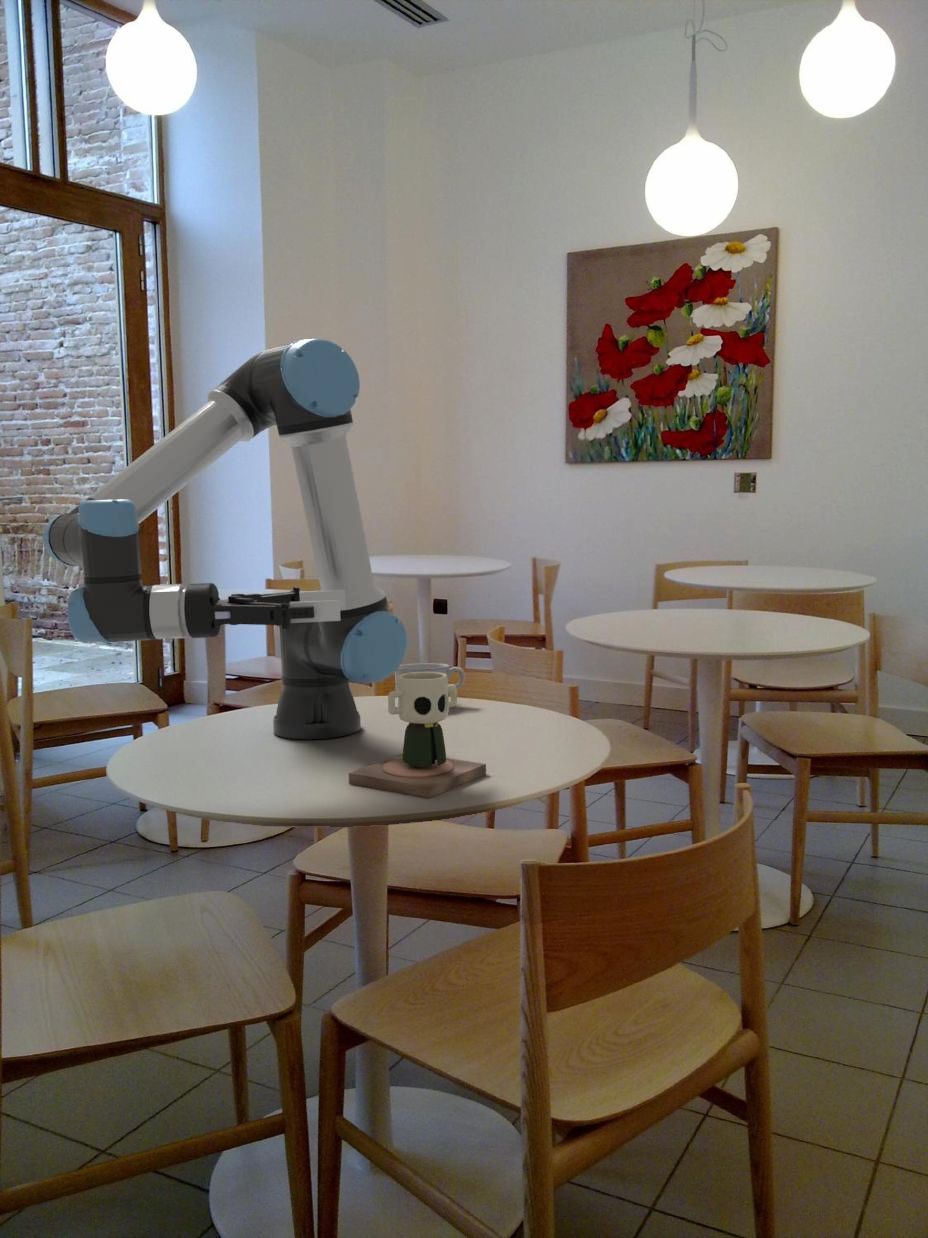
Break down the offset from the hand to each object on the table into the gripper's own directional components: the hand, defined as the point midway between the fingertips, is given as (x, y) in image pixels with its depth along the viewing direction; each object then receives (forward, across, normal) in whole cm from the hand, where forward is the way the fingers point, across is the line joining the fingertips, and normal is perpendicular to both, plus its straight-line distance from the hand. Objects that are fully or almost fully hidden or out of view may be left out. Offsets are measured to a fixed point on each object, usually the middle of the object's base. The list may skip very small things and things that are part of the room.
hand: (342, 604), depth 140 cm
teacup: (+13, -53, -27) cm, 61 cm away
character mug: (+10, 0, -24) cm, 26 cm away
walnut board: (+9, 0, -26) cm, 27 cm away
